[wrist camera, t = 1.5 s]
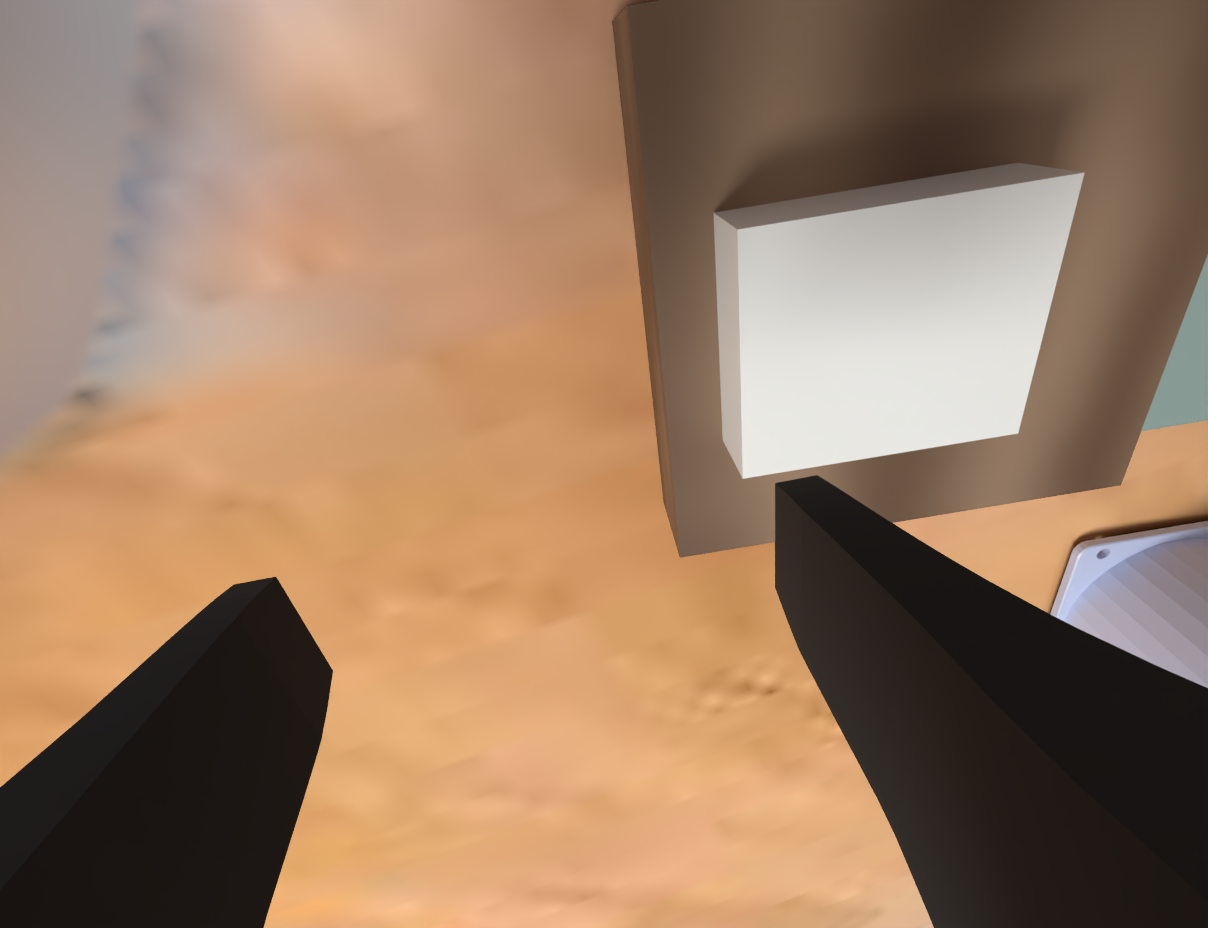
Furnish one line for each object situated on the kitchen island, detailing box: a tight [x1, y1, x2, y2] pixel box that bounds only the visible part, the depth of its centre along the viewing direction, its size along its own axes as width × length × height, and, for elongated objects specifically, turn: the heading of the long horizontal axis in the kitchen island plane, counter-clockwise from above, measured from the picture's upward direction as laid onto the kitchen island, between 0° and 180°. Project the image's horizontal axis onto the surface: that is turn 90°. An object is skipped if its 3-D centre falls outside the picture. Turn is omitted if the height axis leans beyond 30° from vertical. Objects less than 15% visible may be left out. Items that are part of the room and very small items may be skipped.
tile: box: [713, 163, 1084, 479], centre depth 15 cm, size 7×6×2 cm
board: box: [612, 0, 1208, 557], centre depth 17 cm, size 14×14×3 cm
